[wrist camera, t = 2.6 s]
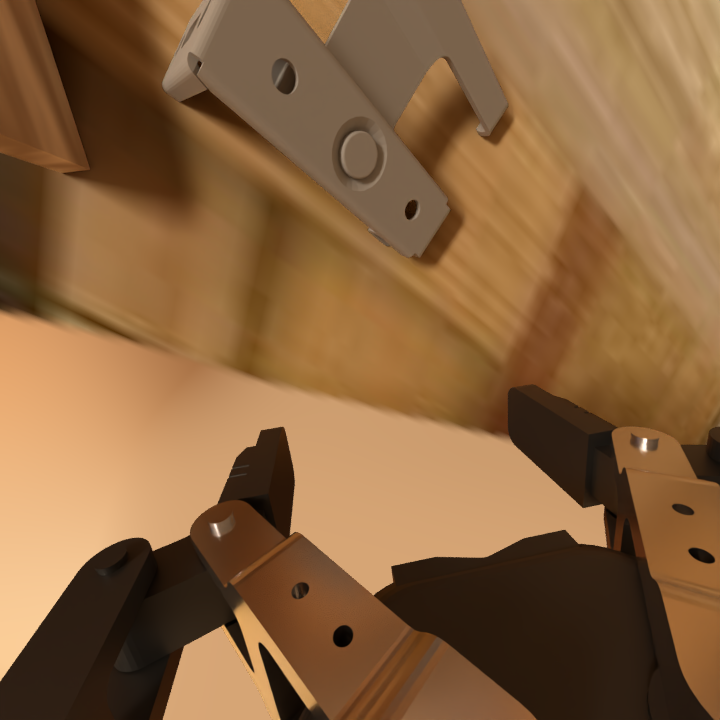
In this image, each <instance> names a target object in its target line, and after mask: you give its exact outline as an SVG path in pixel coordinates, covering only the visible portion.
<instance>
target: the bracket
mask: <svg viewBox="0 0 720 720" xmlns="http://www.w3.org/2000/svg"><path fill="white" fill-rule="evenodd" d="M440 57H442V58H444V59H445V60H446V61H447V63H448V64H449V66H450V68H451V70H452V72H453V73H454V75H455V77H456V79H457V81H458V83H459V84H460V86H461V88H462V90H463V92H464V93H465V95H466V97H467V99H468V101H469V103H470V104H471V106H472V108H473V110H474V112H475V114H476V115H477V117H478V119H479V121H480V124H479V125H478V127H477V128H476V130H477V132H478V134H479V135H480V136H489V135H490V134H491V132H492V131H493V129H494V127H495V126H496V124H497V123H498V121H499V120H500V118H501V117H502V115H503V114H504V112H505V110H506V109H507V107H508V102H507V100H506V98H505V96H504V94H503V91H502V89H501V87H500V85H499V83H498V80H497V78H496V76H495V74H494V72H493V69H492V67H491V65H490V63H489V61H488V58H487V56H486V54H485V52H484V50H483V47H482V45H481V43H480V41H479V39H478V37H477V34H476V32H475V30H474V28H473V26H472V23H471V21H470V19H469V17H468V15H467V12H466V10H465V8H464V6H463V4H462V1H461V0H348V2H347V4H346V6H345V8H344V10H343V12H342V13H341V15H340V17H339V19H338V21H337V23H336V25H335V26H334V28H333V30H332V32H331V34H330V36H329V38H328V40H327V41H326V43H325V44H324V43H323V42H322V41H321V39H320V38H319V37H318V36H317V34H316V33H315V32H314V31H313V29H312V28H311V27H310V26H309V24H308V23H307V22H306V21H305V19H304V18H303V17H302V16H301V14H300V13H299V12H298V11H297V9H296V8H295V7H294V6H293V4H292V3H291V2H290V1H289V0H203V1H202V2H201V4H200V5H199V7H198V8H197V10H196V11H195V13H194V14H193V16H192V17H191V19H190V21H189V23H188V25H187V28H186V30H185V32H184V34H183V37H182V39H181V41H180V43H179V45H178V48H177V50H176V52H175V54H174V57H173V59H172V61H171V63H170V65H169V68H168V70H167V72H166V74H165V77H164V79H163V81H162V88H163V90H164V91H165V92H166V93H167V94H168V95H170V96H171V97H173V98H174V99H176V100H177V101H178V102H181V101H183V100H185V99H187V98H189V97H192V96H194V95H196V94H198V93H201V92H203V91H205V90H207V89H209V90H210V92H212V93H213V94H214V95H215V96H216V97H217V98H219V99H220V100H221V101H222V102H223V103H224V104H226V105H227V106H228V107H229V108H230V109H231V110H233V111H234V112H235V113H236V114H237V115H238V116H240V117H241V118H242V119H243V120H244V121H245V122H247V123H248V124H249V125H250V126H251V127H252V128H254V129H255V130H256V131H257V132H258V133H259V134H261V135H262V136H263V137H264V138H265V139H266V140H268V141H269V142H270V143H271V144H272V145H273V146H275V147H276V148H277V149H278V150H279V151H280V152H282V153H283V154H284V155H285V156H286V157H287V158H289V159H290V160H291V161H292V162H293V163H295V164H296V165H297V166H298V167H299V168H300V169H302V170H303V171H304V172H305V173H306V174H307V175H309V176H310V177H311V178H312V179H313V180H314V181H316V182H317V183H318V184H319V185H320V186H321V187H323V188H324V189H325V190H326V191H327V192H328V193H330V194H331V195H332V196H333V197H334V198H335V199H337V200H338V201H339V202H340V203H341V204H342V205H344V206H345V207H346V208H347V209H348V210H349V211H351V212H352V213H353V214H354V215H355V216H356V217H358V218H359V219H360V220H361V221H362V222H363V223H365V224H366V225H367V226H368V227H369V229H368V231H369V232H370V233H371V234H372V235H373V236H374V237H375V238H377V239H378V240H379V241H380V242H381V243H383V244H384V245H386V246H392V247H393V248H394V249H395V250H396V251H397V252H399V253H400V254H401V255H403V256H405V257H411V256H416V257H418V258H420V257H421V255H422V254H423V252H424V251H425V249H426V248H427V246H428V245H429V243H430V242H431V240H432V238H433V237H434V235H435V234H436V232H437V231H438V229H439V228H440V226H441V224H442V223H443V221H444V220H445V218H446V217H447V215H448V214H449V212H450V208H449V207H448V206H447V204H446V203H447V201H448V198H447V196H446V195H445V194H444V193H443V191H442V190H441V189H440V188H439V186H438V185H437V184H436V183H435V181H434V180H433V179H432V178H431V176H430V175H429V174H428V173H427V171H426V170H425V169H424V168H423V166H422V165H421V164H420V163H419V161H418V160H417V159H416V158H415V156H414V155H413V154H412V153H411V151H410V150H409V149H408V148H407V146H406V145H405V144H404V143H403V141H402V140H401V139H400V138H399V136H398V135H397V134H396V133H395V132H394V127H395V125H396V123H397V121H398V119H399V118H400V116H401V114H402V112H403V111H404V109H405V107H406V106H407V104H408V102H409V101H410V99H411V97H412V96H413V94H414V92H415V91H416V89H417V87H418V86H419V84H420V82H421V81H422V79H423V77H424V76H425V74H426V72H427V71H428V70H429V68H430V67H431V66H432V65H433V63H434V62H435V61H436V60H437V59H439V58H440ZM198 61H200V62H201V63H202V65H201V67H199V66H198ZM411 200H414V201H415V202H416V205H417V209H416V213H415V215H414V216H413V217H412V218H411V219H407V218H406V216H405V208H406V205H407V204H408V202H410V201H411Z"/></svg>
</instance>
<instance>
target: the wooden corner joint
mask: <svg viewBox="0 0 720 720" xmlns="http://www.w3.org/2000/svg"><path fill="white" fill-rule="evenodd" d="M0 153H3V154H6V155H9V156H12V157H15V158H18V159H21V160H24V161H27V162H30V163H33V164H36V165H39V166H42V167H45V168H48V169H51V170H54V171H56V172H59V173H66V172H75V171H84V170H90V167H89V164H88V161H87V158H86V155H85V152H84V149H83V146H82V143H81V139H80V136H79V133H78V130H77V127H76V124H75V121H74V118H73V115H72V112H71V109H70V106H69V103H68V100H67V97H66V94H65V90H64V87H63V84H62V81H61V78H60V75H59V72H58V69H57V66H56V63H55V60H54V57H53V54H52V51H51V48H50V45H49V42H48V38H47V35H46V32H45V29H44V26H43V23H42V20H41V17H40V14H39V11H38V8H37V5H36V2H35V0H0Z"/></svg>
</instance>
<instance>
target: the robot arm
mask: <svg viewBox="0 0 720 720" xmlns="http://www.w3.org/2000/svg"><path fill="white" fill-rule="evenodd" d="M508 431H509V435H510V438H511V440H512V442H513V443H514V445H515V446H516V447H517V448H518V449H520V450H521V451H522V452H523V453H524V454H525V455H526V456H527V457H528V458H529V459H531V460H532V461H533V462H534V463H535V464H536V465H537V466H538V467H539V468H540V469H541V470H542V471H543V472H545V473H546V474H547V475H548V476H549V477H550V478H551V479H552V480H553V481H554V482H556V484H558V485H559V486H560V487H561V488H562V489H563V490H564V491H565V492H566V493H567V494H569V495H570V496H571V497H572V498H573V499H574V500H575V501H576V502H577V503H578V504H579V505H580V506H582V507H583V508H586V507H590V506H595V505H600V504H603V505H604V506H605V508H604V525H605V534H606V542H607V548H605V547H600V546H595V545H586V544H578V543H577V542H576V541H575V540H574V539H573V538H572V537H571V536H570V535H569V533H567V532H566V530H562V531H557V532H552V533H547V534H543V535H538V536H533V537H528V538H524V539H522V540H520V541H518V542H516V543H514V544H512V545H510V546H508V547H506V548H504V549H502V550H500V551H498V552H496V553H494V554H493V555H491V556H488V557H485V558H460V557H455V558H454V557H434V558H429V559H424V560H419V561H415V562H410V563H405V564H400V565H395V566H392V567H391V568H392V576H393V583H392V584H390V585H388V586H386V587H385V588H383V589H382V590H380V591H379V592H377V593H376V594H375V595H374V596H373V595H372V594H371V593H370V592H369V591H367V590H366V589H365V588H364V587H363V586H362V585H360V584H359V583H358V582H357V581H356V580H354V579H353V578H352V577H351V576H350V575H349V574H348V573H346V572H345V571H344V570H343V569H342V568H341V567H339V566H338V565H337V564H336V563H335V562H334V561H332V560H331V559H330V558H329V557H328V556H327V555H325V554H324V553H323V552H322V551H321V550H319V549H318V548H317V547H316V546H315V545H314V544H312V543H311V542H310V541H309V540H308V539H307V538H305V537H304V536H303V535H302V534H300V533H298V532H294V533H293V534H292V535H290V527H291V516H292V506H293V496H294V486H295V480H294V470H293V464H292V460H291V455H290V451H289V446H288V441H287V436H286V432H285V429H284V427H278V428H273V429H267V430H261V432H260V435H259V438H258V441H257V444H256V446H253V447H247V448H246V449H245V450H244V451H243V452H242V453H241V454H240V455H239V456H238V457H237V458H236V460H235V462H234V465H233V467H232V468H233V469H232V470H231V472H230V475H229V478H228V479H227V482H226V484H225V487H224V489H223V492H222V494H221V497H220V499H219V501H218V504H217V505H215V506H213V507H211V508H209V509H208V510H207V511H205V512H204V513H202V514H201V515H200V516H199V517H198V518H197V519H196V520H195V522H194V523H193V525H192V527H191V530H190V535H189V536H187V537H185V538H183V539H181V540H179V541H176V542H174V543H172V544H169V545H167V546H164V547H162V548H160V549H157V550H155V551H152V548H151V545H150V543H149V541H147V540H146V539H143V538H131V539H126V540H123V541H120V542H117V543H115V544H113V545H111V546H109V547H107V548H105V549H104V550H102V551H101V552H99V553H98V554H96V555H95V556H93V557H92V558H91V559H90V560H89V561H88V562H86V563H85V565H84V566H83V567H82V568H81V569H80V570H79V571H78V573H77V574H76V576H75V577H74V579H73V580H72V581H71V582H70V584H69V585H68V587H67V588H66V590H65V591H64V592H63V594H62V595H61V597H60V598H59V599H58V601H57V602H56V604H55V605H54V606H53V608H52V609H51V611H50V612H49V614H48V615H47V616H46V618H45V619H44V621H43V622H42V623H41V625H40V626H39V628H38V629H37V631H36V632H35V633H34V635H33V636H32V638H31V639H30V641H29V642H28V643H27V645H26V646H25V648H24V649H23V650H22V652H21V653H20V654H19V656H18V657H17V659H16V660H15V662H14V663H13V664H12V666H11V667H10V669H9V670H8V671H7V673H6V674H5V676H4V677H3V678H2V680H1V681H0V720H163V716H164V713H165V709H166V706H167V702H168V699H169V695H170V692H171V689H172V685H173V682H174V678H175V675H176V672H177V668H178V665H179V661H180V658H181V654H182V651H183V648H184V646H185V645H186V644H189V643H190V642H192V641H194V640H196V639H198V638H200V637H202V636H204V635H205V634H207V633H209V632H211V631H213V630H215V629H217V628H219V627H222V629H223V631H224V633H225V634H226V636H227V638H228V639H229V641H230V643H231V644H232V646H233V648H234V649H235V651H236V652H237V654H238V656H239V658H240V660H241V661H242V663H243V665H244V666H245V668H246V670H247V671H248V673H249V675H250V677H251V678H252V680H253V682H254V683H255V685H256V687H257V689H258V691H259V693H260V694H261V697H262V699H263V701H264V703H265V706H266V708H267V710H268V712H269V715H270V717H271V718H272V720H720V427H715V428H712V429H711V430H710V431H709V436H708V441H707V445H680V444H679V442H678V441H677V440H676V439H674V438H673V437H671V436H670V435H668V434H665V433H663V432H660V431H657V430H653V429H649V428H644V427H632V426H629V427H620V428H617V427H616V426H614V425H612V424H610V423H608V422H607V421H605V420H603V419H601V418H599V417H597V416H596V415H594V414H592V413H588V411H586V410H585V409H583V408H581V407H580V408H579V407H578V406H577V405H575V404H574V403H572V402H570V401H568V400H566V399H563V398H560V397H556V396H553V395H552V394H550V393H548V392H546V391H544V390H543V389H541V388H539V387H537V386H535V385H533V384H531V385H525V386H519V387H513V388H511V389H510V390H509V392H508Z"/></svg>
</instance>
